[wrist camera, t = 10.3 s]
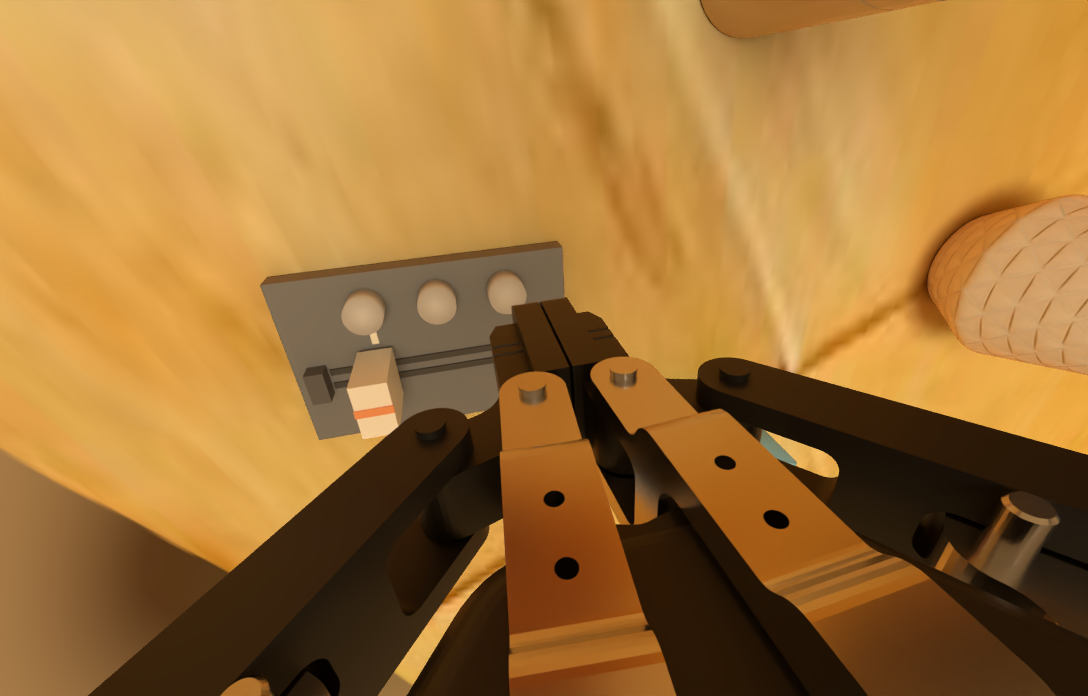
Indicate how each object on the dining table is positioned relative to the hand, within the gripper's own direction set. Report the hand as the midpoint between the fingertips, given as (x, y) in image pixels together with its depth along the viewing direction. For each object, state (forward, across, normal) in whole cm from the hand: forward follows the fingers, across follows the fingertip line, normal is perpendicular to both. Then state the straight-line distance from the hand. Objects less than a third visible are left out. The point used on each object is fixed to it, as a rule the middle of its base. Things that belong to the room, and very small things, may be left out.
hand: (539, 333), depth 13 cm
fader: (+27, +11, +16) cm, 33 cm away
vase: (+31, -56, +16) cm, 66 cm away
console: (+30, +6, +14) cm, 34 cm away
